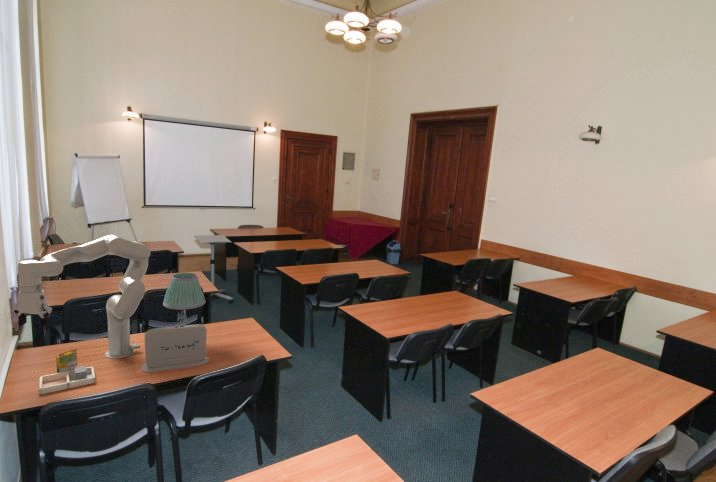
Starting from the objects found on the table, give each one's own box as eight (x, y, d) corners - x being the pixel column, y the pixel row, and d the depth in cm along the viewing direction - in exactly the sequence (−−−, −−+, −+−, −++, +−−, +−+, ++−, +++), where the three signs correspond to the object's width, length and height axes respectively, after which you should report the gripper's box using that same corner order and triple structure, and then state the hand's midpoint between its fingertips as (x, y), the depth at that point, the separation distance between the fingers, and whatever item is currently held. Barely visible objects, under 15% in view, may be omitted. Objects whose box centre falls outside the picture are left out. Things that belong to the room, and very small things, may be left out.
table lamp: (163, 338, 226) (163, 271, 219) (204, 335, 234) (205, 270, 228) (161, 355, 206) (161, 282, 200) (205, 351, 215) (206, 280, 208)
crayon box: (74, 369, 186) (73, 346, 184) (77, 371, 184) (76, 348, 182) (56, 375, 180) (55, 352, 178) (59, 378, 178) (58, 354, 176)
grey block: (85, 375, 180) (85, 365, 180) (86, 381, 176) (86, 371, 175) (75, 377, 178) (74, 367, 177) (75, 383, 173) (75, 373, 172)
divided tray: (93, 372, 185) (93, 366, 184) (95, 384, 176) (95, 377, 175) (40, 383, 173) (39, 376, 172) (39, 396, 164) (39, 389, 163)
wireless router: (140, 374, 187) (140, 334, 184) (141, 364, 196) (140, 326, 192) (210, 364, 202) (210, 327, 198) (207, 355, 210) (208, 320, 207)
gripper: (56, 287, 176) (59, 323, 179) (19, 284, 176) (21, 320, 179) (43, 292, 168) (45, 329, 171) (3, 289, 169) (6, 326, 172)
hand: (33, 324), depth 175 cm, fingers open, 9 cm apart
